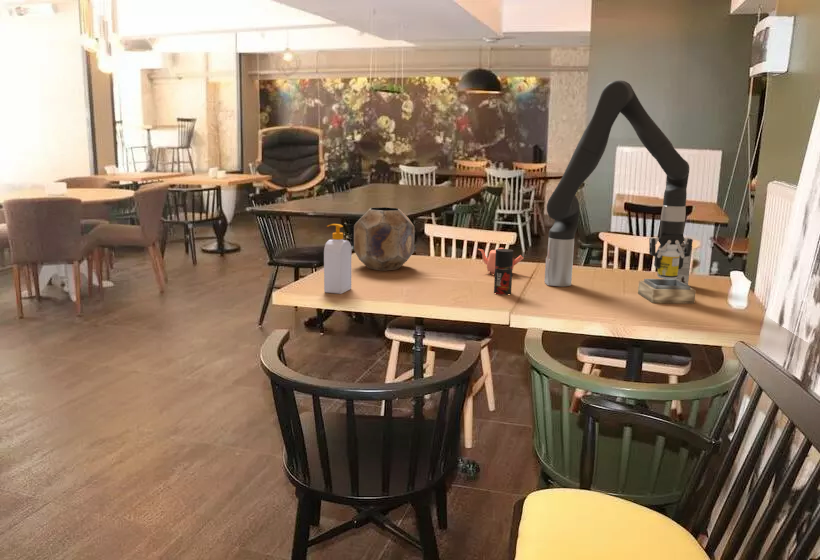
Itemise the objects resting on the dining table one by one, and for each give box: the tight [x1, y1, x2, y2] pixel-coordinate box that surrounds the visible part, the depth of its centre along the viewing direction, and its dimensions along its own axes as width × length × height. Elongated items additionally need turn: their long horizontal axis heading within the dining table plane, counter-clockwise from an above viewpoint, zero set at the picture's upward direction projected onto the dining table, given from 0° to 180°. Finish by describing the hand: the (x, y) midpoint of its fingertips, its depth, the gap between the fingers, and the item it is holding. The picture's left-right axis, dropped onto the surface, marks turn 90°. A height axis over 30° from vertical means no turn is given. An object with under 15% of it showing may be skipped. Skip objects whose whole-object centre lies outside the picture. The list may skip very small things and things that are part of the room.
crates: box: [637, 278, 697, 305], centre depth 231 cm, size 14×14×6 cm
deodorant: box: [493, 248, 514, 296], centre depth 233 cm, size 6×6×15 cm
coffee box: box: [676, 242, 693, 285], centre depth 250 cm, size 9×6×16 cm
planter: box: [353, 206, 416, 272], centre depth 273 cm, size 22×24×24 cm
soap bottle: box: [323, 223, 352, 295], centre depth 231 cm, size 9×7×23 cm
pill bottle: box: [657, 244, 680, 279], centre depth 229 cm, size 6×6×12 cm
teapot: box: [477, 247, 524, 275], centre depth 268 cm, size 14×12×10 cm
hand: (668, 268), depth 229 cm, fingers closed on pill bottle, 6 cm apart
